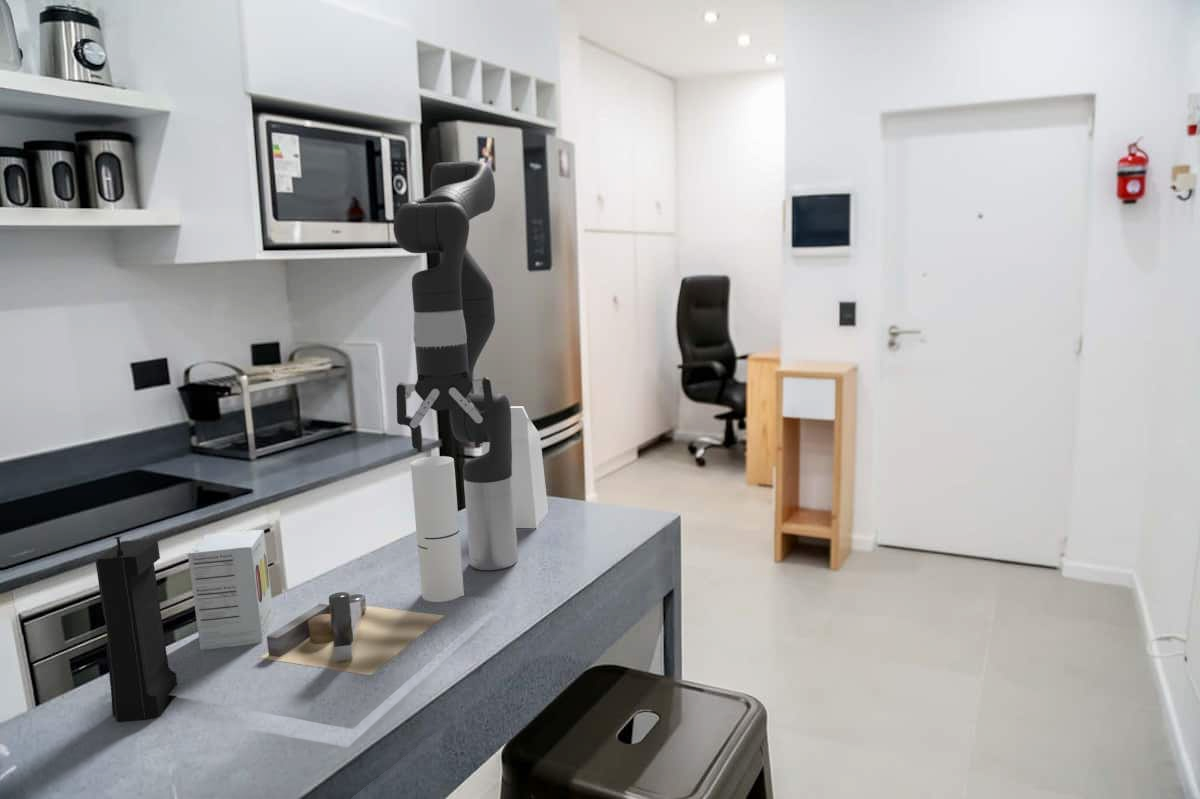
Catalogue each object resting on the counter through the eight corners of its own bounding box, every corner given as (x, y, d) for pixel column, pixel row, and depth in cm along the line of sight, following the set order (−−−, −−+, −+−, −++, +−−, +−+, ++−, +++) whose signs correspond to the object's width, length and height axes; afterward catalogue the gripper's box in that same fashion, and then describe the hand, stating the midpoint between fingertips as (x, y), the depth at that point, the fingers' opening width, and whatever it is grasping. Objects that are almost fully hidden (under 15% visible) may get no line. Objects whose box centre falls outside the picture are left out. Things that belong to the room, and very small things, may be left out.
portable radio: (138, 692, 116) (113, 522, 112) (182, 688, 117) (159, 519, 113) (110, 723, 109) (82, 541, 104) (158, 719, 109) (131, 538, 105)
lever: (344, 608, 137) (339, 555, 136) (367, 605, 138) (362, 552, 136) (330, 662, 119) (324, 601, 117) (356, 658, 119) (350, 598, 118)
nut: (325, 630, 130) (322, 612, 130) (343, 634, 128) (340, 616, 128) (304, 641, 127) (302, 622, 126) (322, 645, 125) (320, 627, 124)
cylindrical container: (455, 611, 139) (444, 466, 135) (415, 609, 140) (403, 466, 136) (470, 594, 146) (460, 456, 142) (432, 592, 147) (421, 456, 143)
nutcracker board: (344, 611, 141) (342, 586, 140) (445, 624, 134) (442, 598, 133) (260, 667, 122) (256, 638, 121) (371, 685, 115) (368, 655, 115)
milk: (483, 528, 182) (475, 412, 177) (498, 512, 193) (491, 402, 188) (536, 529, 180) (529, 411, 175) (548, 512, 191) (542, 402, 186)
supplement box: (264, 651, 127) (251, 547, 124) (200, 659, 125) (185, 553, 123) (276, 625, 136) (264, 527, 134) (216, 632, 135) (204, 533, 132)
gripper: (488, 336, 126) (495, 440, 129) (393, 342, 124) (402, 447, 127) (490, 341, 119) (497, 450, 122) (388, 347, 117) (398, 458, 120)
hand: (448, 448), depth 124 cm, fingers open, 8 cm apart
